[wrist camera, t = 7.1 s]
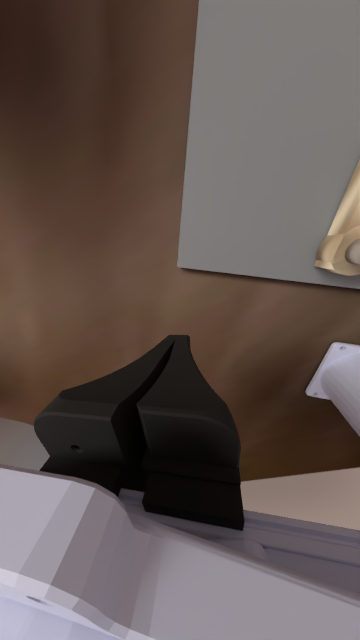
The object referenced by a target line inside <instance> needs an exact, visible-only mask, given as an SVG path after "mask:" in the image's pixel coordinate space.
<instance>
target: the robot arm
mask: <svg viewBox="0 0 360 640" xmlns="http://www.w3.org/2000/svg"><path fill="white" fill-rule="evenodd" d="M342 346H343V347H342ZM341 347H342V348H341ZM305 392H306V394H307V395H308V396H312V397H318V398H323V399H329V400H331V401H332V402H333V403H334V405H335V406H336V407H337V408H338V410H339V411H340V412H341V414H342V415H343V416H344V417H345V419H346V420H347V421H348V423H349V424H350V425H351V426H352V428H353V429H354V430H355V431H356V433H357V434H358V435H359V437H360V345H354V344H347V343H341V342H335V343H333V344H332V345H331V346H330V348H329V350H328V352H327V353H326V355H325V357H324V359H323V360H322V362H321V364H320V366H319V368H318V369H317V371H316V373H315V375H314V376H313V378H312V380H311V382H310V384H309V385H308V387H307V389H306V391H305ZM34 430H35V432H36V435H37V437H38V438H39V440H40V441H41V443H42V444H43V446H44V447H45V449H46V450H47V452H48V454H49V455H50V457H49V459H48V460H47V462H46V463H45V464H44V465H43V467H42V468H41V469H40V471H36V470H30V469H25V468H19V467H13V466H8V465H2V464H0V640H360V531H359V530H353V529H348V528H342V527H336V526H330V525H325V524H320V523H314V522H309V521H303V520H297V519H291V518H285V517H280V516H275V515H269V514H264V513H258V512H253V511H247V510H243V505H242V497H241V490H240V484H241V481H240V473H239V459H240V450H241V446H240V439H239V435H238V432H237V428H236V426H235V423H234V420H233V418H232V415H231V413H230V411H229V409H228V406H227V404H226V403H225V402H224V401H223V400H222V399H221V398H220V397H219V396H218V395H217V394H216V393H215V392H214V390H213V389H212V388H211V387H210V386H209V384H208V383H207V381H206V380H205V379H204V377H203V376H202V374H201V373H200V371H199V369H198V367H197V365H196V363H195V361H194V359H193V356H192V354H191V350H190V337H189V336H188V335H169V336H167V337H166V338H165V339H164V340H163V341H161V342H160V343H159V344H158V345H157V346H155V347H154V348H153V349H152V350H150V351H149V352H147V353H146V354H145V355H143V356H142V357H140V358H139V359H137V360H136V361H134V362H132V363H131V364H129V365H127V366H125V367H123V368H121V369H119V370H117V371H115V372H113V373H111V374H109V375H107V376H104V377H102V378H99V379H97V380H94V381H91V382H89V383H86V384H83V385H80V386H76V387H73V388H70V389H67V390H63V391H62V392H61V393H60V394H59V395H58V396H57V397H56V398H55V399H54V400H53V401H52V402H51V403H50V404H49V405H48V406H47V407H46V408H45V409H44V410H43V411H42V412H41V413H40V414H39V415H38V416H37V417H36V418H35V421H34Z"/></svg>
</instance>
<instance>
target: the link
mask: <svg viewBox="0 0 360 640" xmlns="http://www.w3.org/2000/svg"><path fill="white" fill-rule="evenodd" d="M314 266H316V267H321V268H322V269H323V270H325V271H329V272H333V273H337V274H342V275H347V276H352V275H358V274H360V160H359V162H358V164H357V167H356V169H355V171H354V174H353V176H352V178H351V181H350V183H349V185H348V188H347V190H346V192H345V195H344V197H343V199H342V202H341V204H340V206H339V209H338V211H337V213H336V216H335V218H334V220H333V223H332V225H331V227H330V230H329V232H328V235H327V236H326V237H325V238H324V239H323V240H322V242H321V243H320V245H319V247H318V249H317V253H316V263H315V265H314Z"/></svg>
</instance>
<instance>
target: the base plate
mask: <svg viewBox="0 0 360 640" xmlns="http://www.w3.org/2000/svg"><path fill="white" fill-rule="evenodd" d="M359 160H360V0H199V8H198V20H197V32H196V44H195V57H194V69H193V81H192V93H191V105H190V117H189V129H188V141H187V153H186V165H185V177H184V189H183V201H182V213H181V226H180V238H179V250H178V262H177V267H180V268H189V269H197V270H206V271H214V272H222V273H231V274H239V275H248V276H256V277H264V278H273V279H281V280H289V281H298V282H306V283H315V284H323V285H331V286H340V287H348V288H356V289H360V274H358V275H352V276H347V275H342V274H337V273H333V272H329V271H325V270H323V269H322V268H321V267H316V266H314V265H315V263H316V253H317V249H318V247H319V245H320V243H321V242H322V240H323V239H324V238H325V237H326V236H327V235H328V232H329V230H330V227H331V225H332V223H333V220H334V218H335V216H336V213H337V211H338V209H339V206H340V204H341V202H342V199H343V197H344V195H345V192H346V190H347V188H348V185H349V183H350V181H351V178H352V176H353V174H354V171H355V169H356V167H357V164H358V162H359Z"/></svg>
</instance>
